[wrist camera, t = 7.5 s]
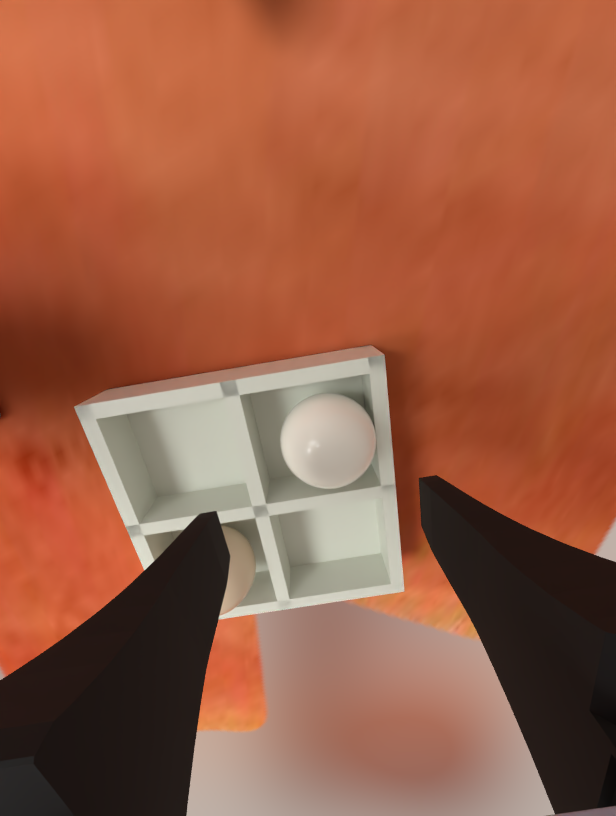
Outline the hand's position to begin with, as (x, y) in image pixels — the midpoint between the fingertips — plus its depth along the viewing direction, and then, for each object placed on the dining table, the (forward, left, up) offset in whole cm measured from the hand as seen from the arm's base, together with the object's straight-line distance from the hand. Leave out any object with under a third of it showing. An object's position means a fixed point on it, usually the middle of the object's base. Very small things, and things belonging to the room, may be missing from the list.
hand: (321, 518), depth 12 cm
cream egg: (0, 0, -9) cm, 9 cm away
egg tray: (-4, -4, -9) cm, 10 cm away
